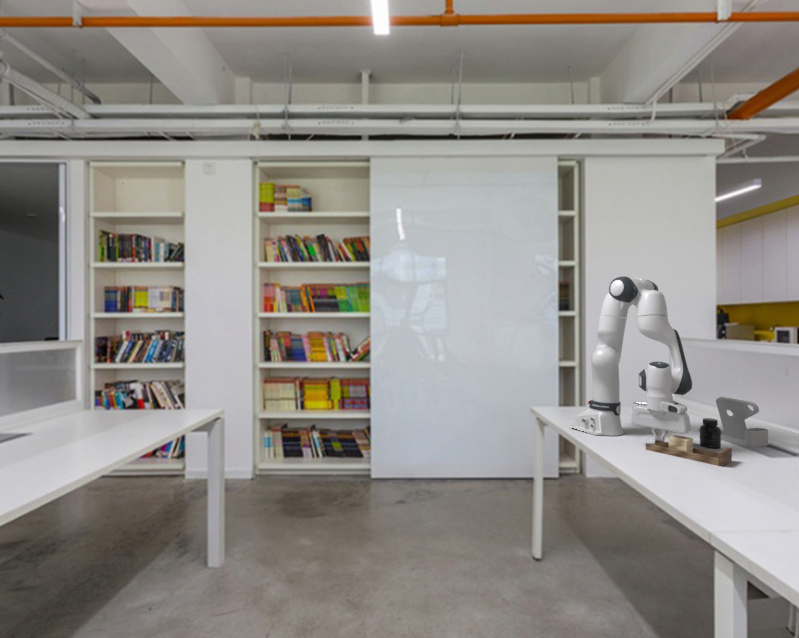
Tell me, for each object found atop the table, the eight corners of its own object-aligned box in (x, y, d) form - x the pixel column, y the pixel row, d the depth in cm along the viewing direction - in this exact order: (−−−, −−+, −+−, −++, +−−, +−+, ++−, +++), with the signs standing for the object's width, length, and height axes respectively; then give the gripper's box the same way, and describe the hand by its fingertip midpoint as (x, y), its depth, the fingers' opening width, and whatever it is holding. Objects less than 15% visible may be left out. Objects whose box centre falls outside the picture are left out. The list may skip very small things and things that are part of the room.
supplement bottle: (699, 446, 182) (699, 416, 181) (719, 448, 178) (719, 418, 178) (700, 450, 176) (700, 420, 176) (721, 453, 172) (721, 422, 172)
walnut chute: (645, 452, 173) (645, 437, 173) (656, 448, 178) (656, 433, 178) (722, 470, 153) (722, 452, 153) (731, 465, 158) (731, 448, 158)
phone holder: (772, 445, 183) (772, 401, 183) (754, 448, 179) (754, 403, 179) (729, 435, 199) (729, 394, 199) (712, 437, 196) (712, 395, 196)
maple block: (668, 453, 168) (668, 437, 168) (675, 450, 171) (675, 434, 171) (686, 457, 163) (686, 440, 163) (693, 454, 166) (693, 438, 166)
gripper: (628, 401, 179) (628, 436, 179) (685, 409, 163) (685, 447, 163) (635, 399, 183) (635, 433, 183) (692, 407, 167) (692, 444, 167)
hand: (659, 440), depth 173 cm, fingers closed
